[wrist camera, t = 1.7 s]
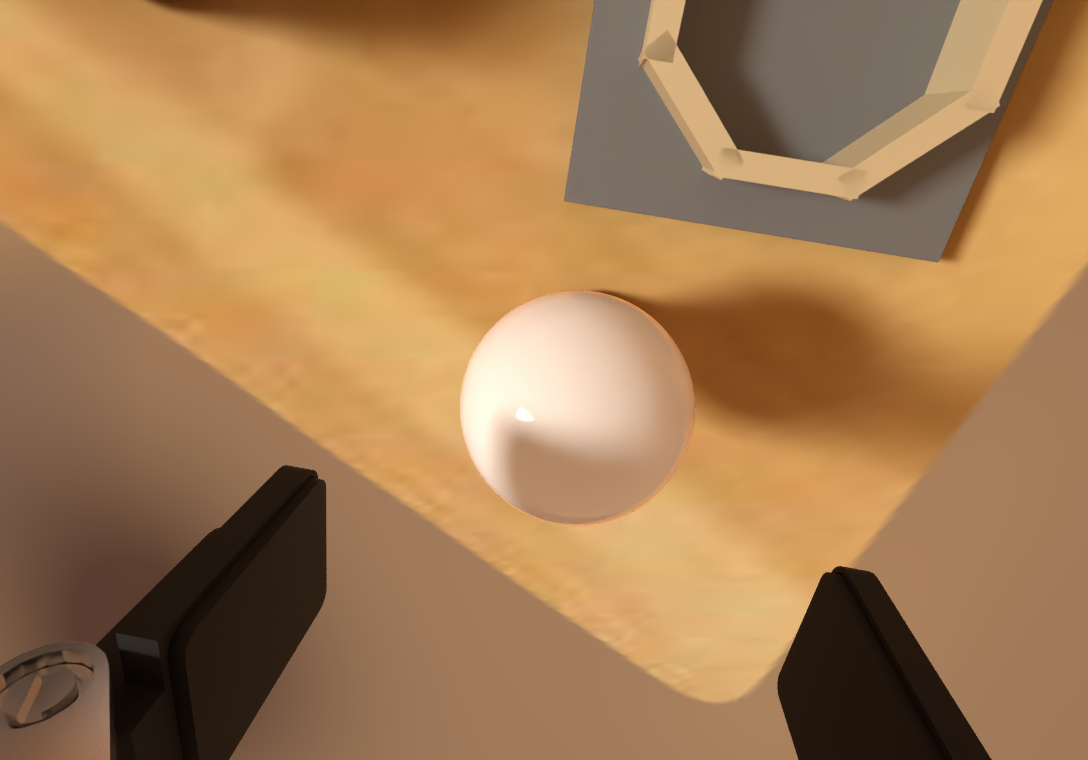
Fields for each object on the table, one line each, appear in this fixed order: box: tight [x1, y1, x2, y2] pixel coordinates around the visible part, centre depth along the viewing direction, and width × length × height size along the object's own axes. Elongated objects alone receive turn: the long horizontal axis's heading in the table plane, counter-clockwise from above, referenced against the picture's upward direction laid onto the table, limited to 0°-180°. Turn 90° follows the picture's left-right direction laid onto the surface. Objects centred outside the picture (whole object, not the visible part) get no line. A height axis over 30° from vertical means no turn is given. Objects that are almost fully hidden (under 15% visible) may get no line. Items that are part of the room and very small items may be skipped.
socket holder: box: [564, 0, 1053, 262], centre depth 16 cm, size 13×13×4 cm
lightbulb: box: [460, 290, 695, 526], centre depth 18 cm, size 6×6×11 cm
